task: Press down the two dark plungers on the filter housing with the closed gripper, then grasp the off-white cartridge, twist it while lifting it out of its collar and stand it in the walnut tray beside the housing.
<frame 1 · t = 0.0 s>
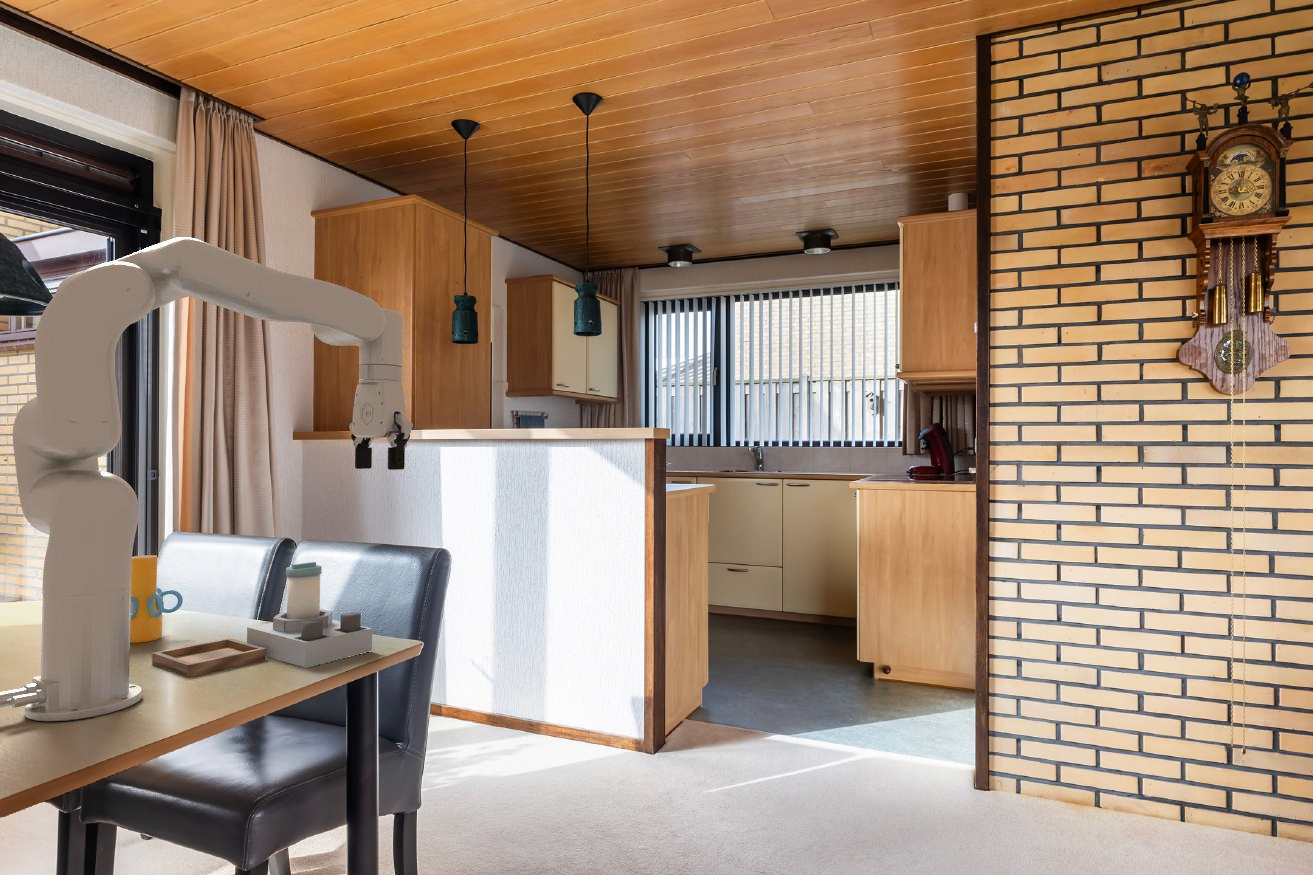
hand: (379, 469, 139), 31 cm above the table, tool pointing down, fingers open, 9 cm apart
cylinder: (142, 640, 137), on the table
tray: (209, 661, 123), on the table
plunger right: (350, 624, 129), point 5 cm above the table, slide at 0.0 cm
housing: (312, 652, 129), on the table
plunger left: (312, 632, 123), point 5 cm above the table, slide at 0.0 cm
cartridge: (303, 626, 131), point 4 cm above the table, touching housing
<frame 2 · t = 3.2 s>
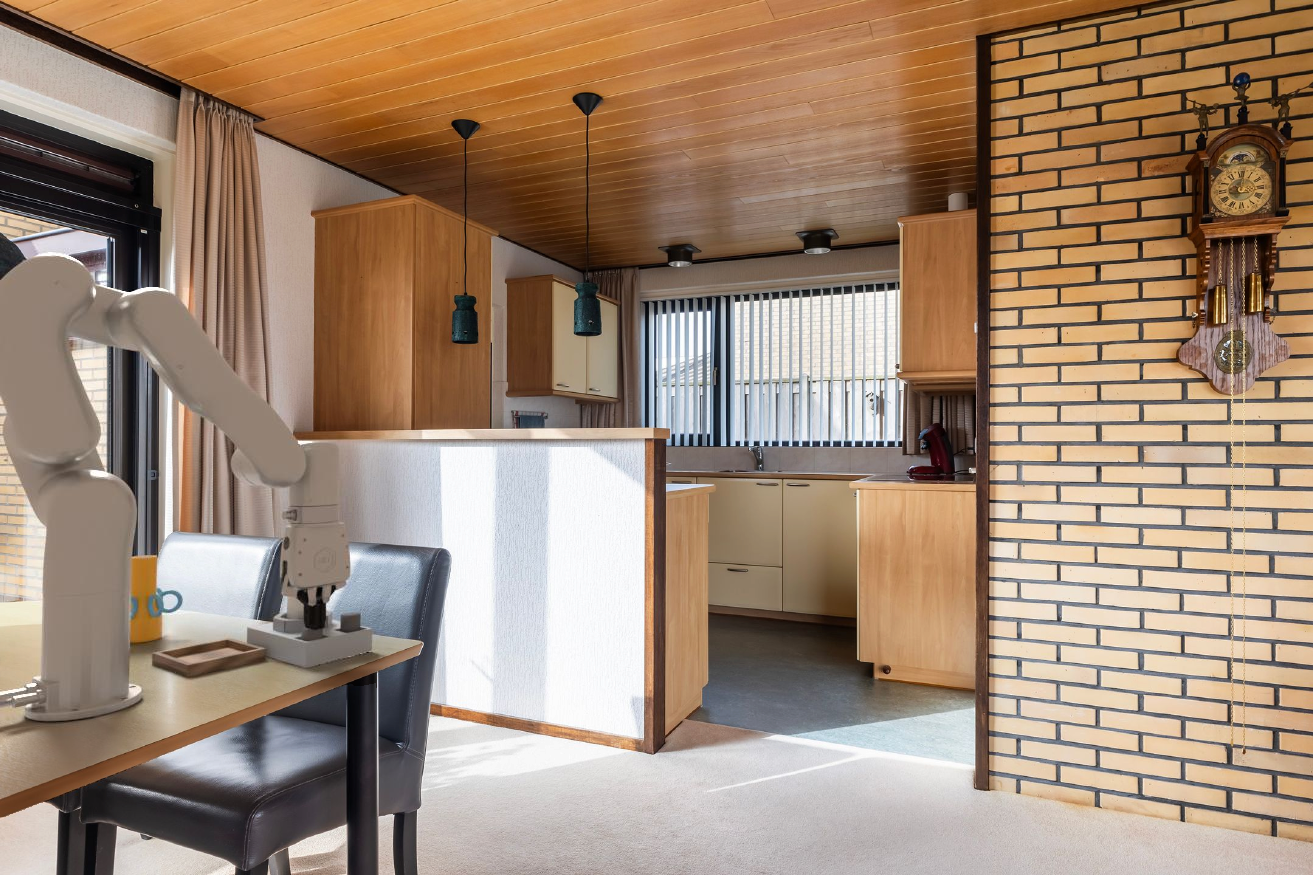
hand: (314, 627, 123), 5 cm above the table, tool pointing down, fingers closed
plunger left: (311, 639, 123), point 4 cm above the table, slide at 1.1 cm, touching gripper
everything else where it was.
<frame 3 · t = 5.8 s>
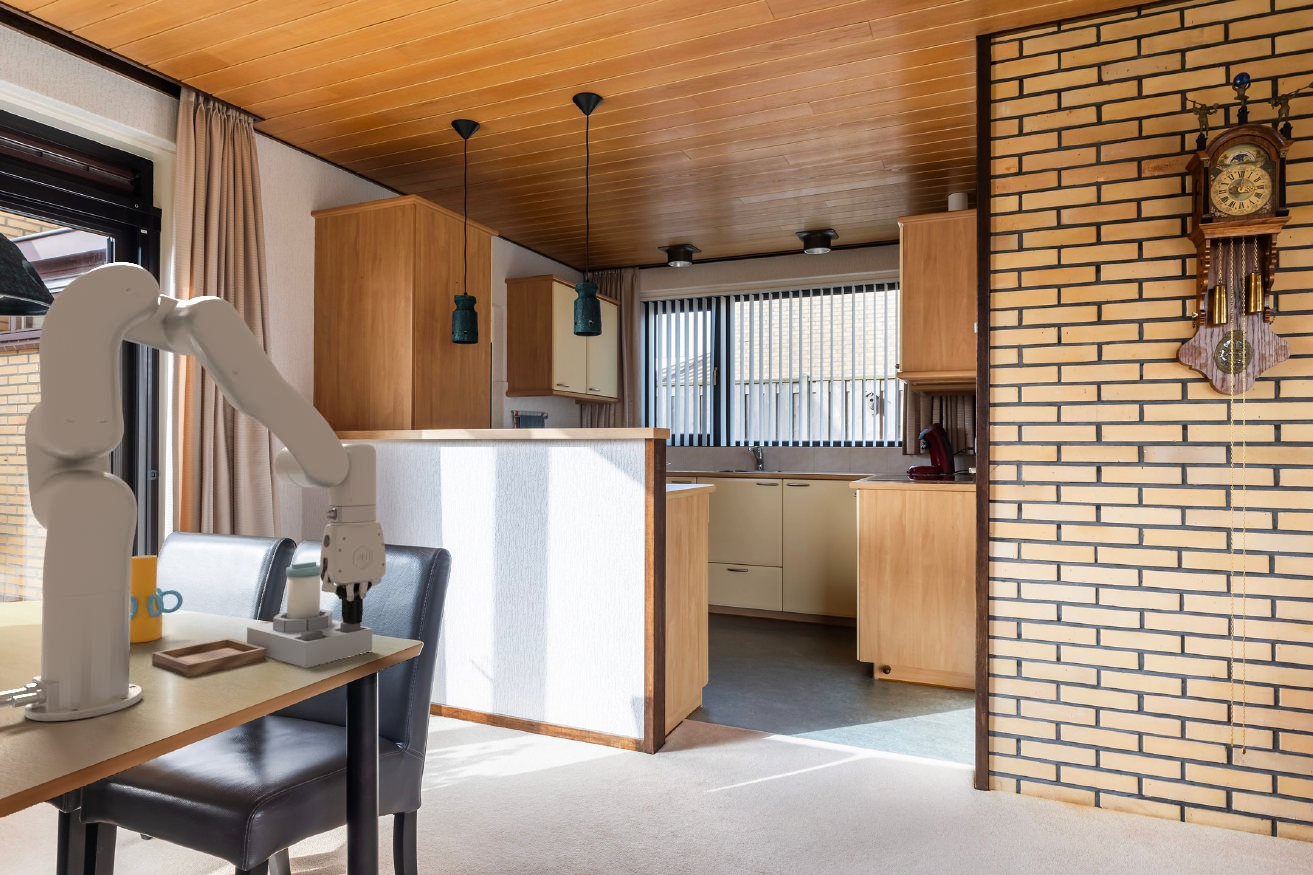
hand: (352, 622, 129), 5 cm above the table, tool pointing down, fingers closed
plunger right: (350, 632, 129), point 3 cm above the table, slide at 1.4 cm
plunger left: (311, 643, 123), point 3 cm above the table, slide at 1.8 cm
everything else where it was.
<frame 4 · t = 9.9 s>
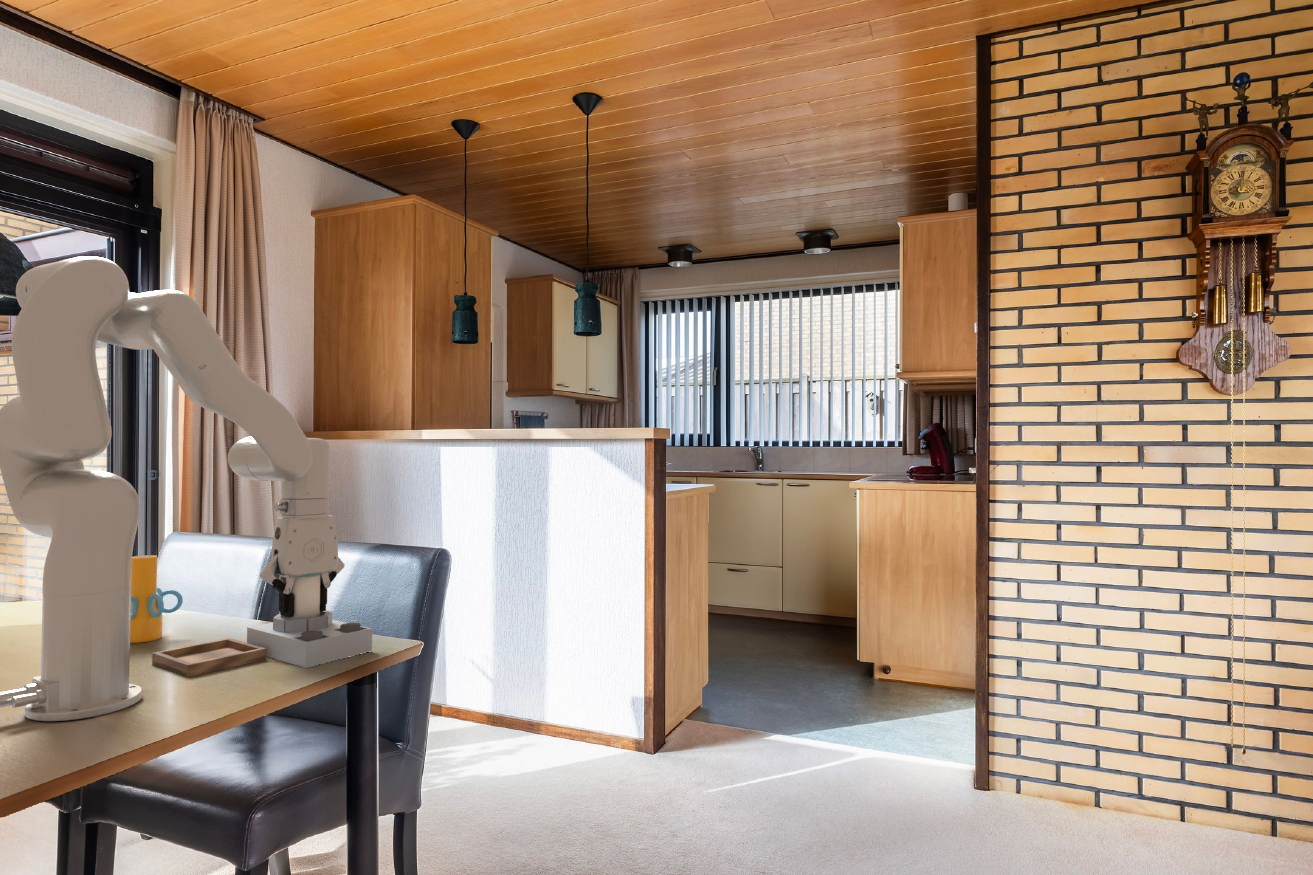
hand: (303, 612, 131), 6 cm above the table, tool pointing down, fingers closed on cartridge, 5 cm apart
plunger right: (350, 634, 129), point 3 cm above the table, slide at 1.7 cm
cartridge: (303, 626, 131), point 4 cm above the table, touching gripper, housing
everything else where it was.
when the fingers open (4 cm above the table, at t = 16.6 s): cartridge drops 1 cm, resting on tray.
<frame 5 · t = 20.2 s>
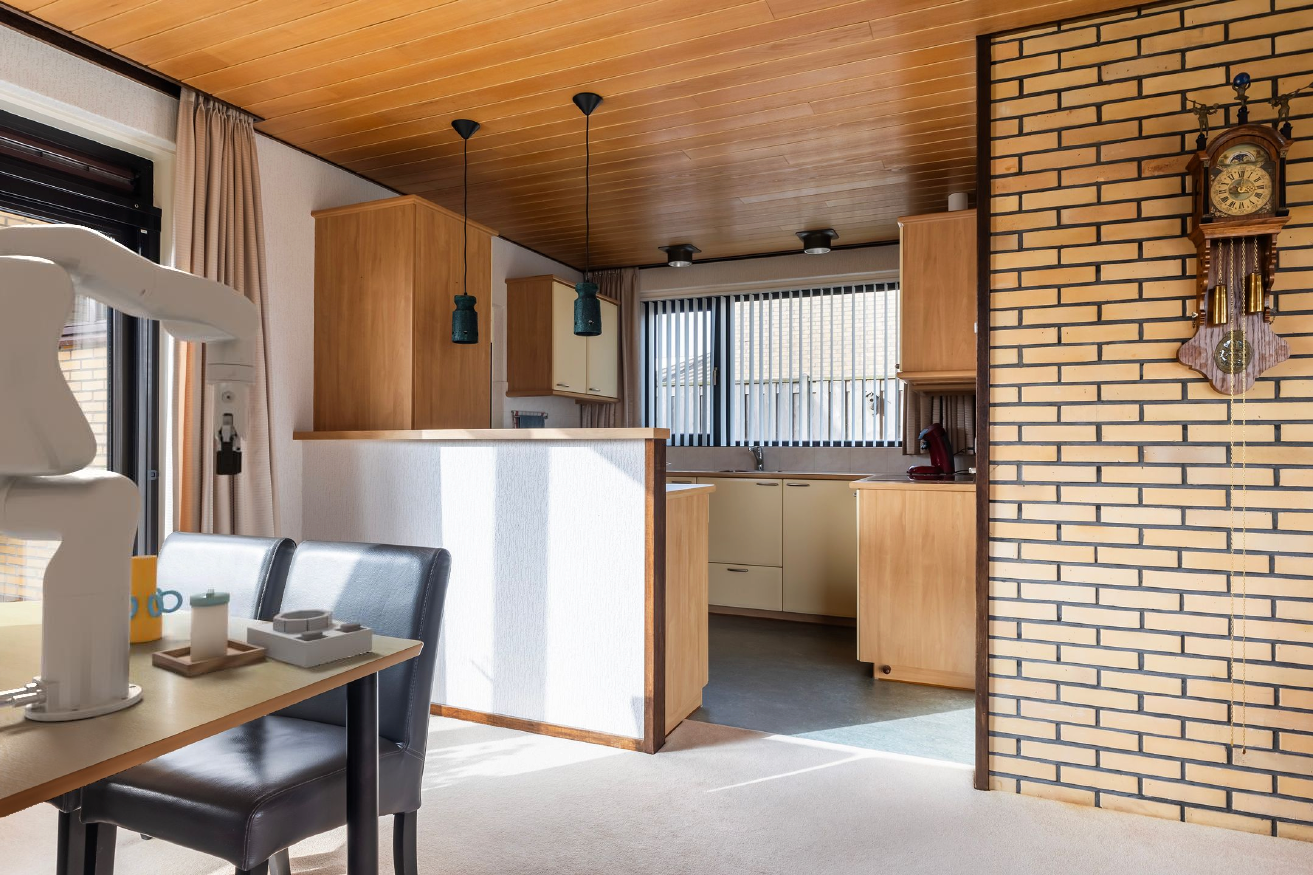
hand: (229, 474, 132), 30 cm above the table, tool pointing down, fingers open, 9 cm apart
cartridge: (208, 658, 122), point 1 cm above the table, touching tray
everything else where it was.
at the end: cartridge inside the target area on the tray (0.2 cm from its centre), point 0.6 cm above the tray's base; cartridge tilted 0°; plunger left slide at 1.8 cm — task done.
